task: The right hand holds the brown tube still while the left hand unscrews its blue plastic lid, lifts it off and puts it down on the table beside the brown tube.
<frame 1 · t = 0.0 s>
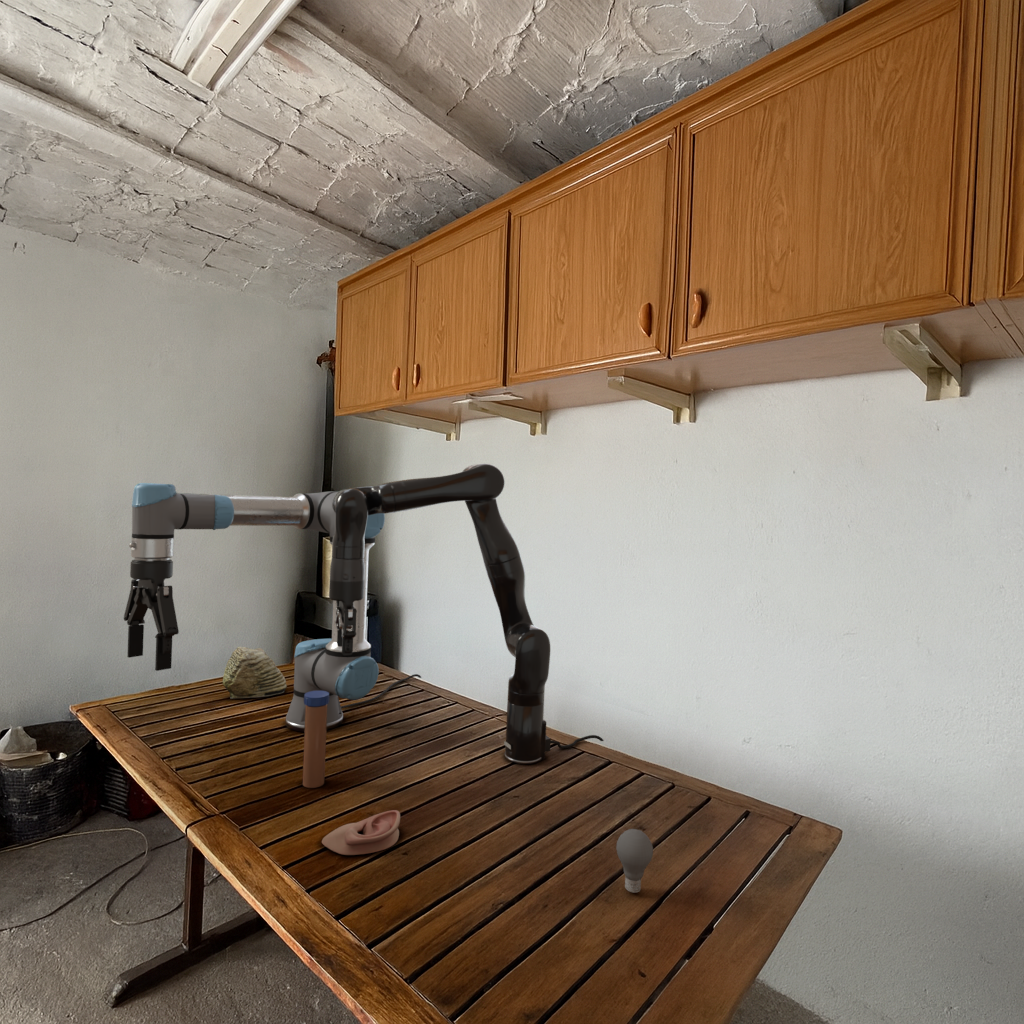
left hand: (148, 662, 129), 28 cm above the table, tool pointing down, fingers open, 13 cm apart
right hand: (344, 650, 141), 29 cm above the table, tool pointing down, fingers open, 8 cm apart
anatomical model: (361, 840, 118), on the table
light bulb: (632, 891, 106), on the table
lid: (316, 695, 139), point 19 cm above the table, screwed on, not yet turned
brown tube: (313, 783, 140), on the table
fossil: (254, 694, 198), on the table
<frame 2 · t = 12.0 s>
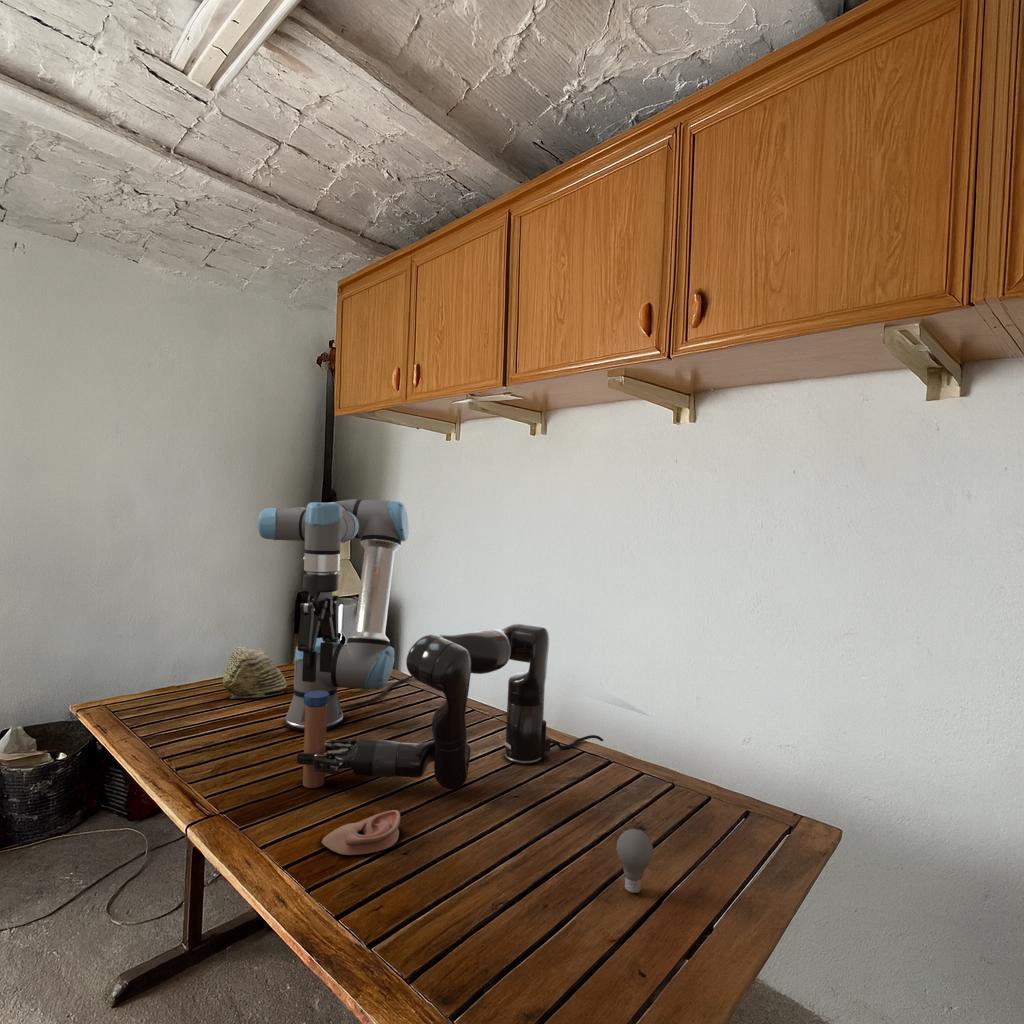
left hand: (317, 676, 139), 24 cm above the table, tool pointing down, fingers open, 7 cm apart
right hand: (302, 753, 140), 6 cm above the table, tool horizontal, fingers closed on brown tube, 4 cm apart
brown tube: (313, 783, 140), on the table, touching right hand
everything else where it was.
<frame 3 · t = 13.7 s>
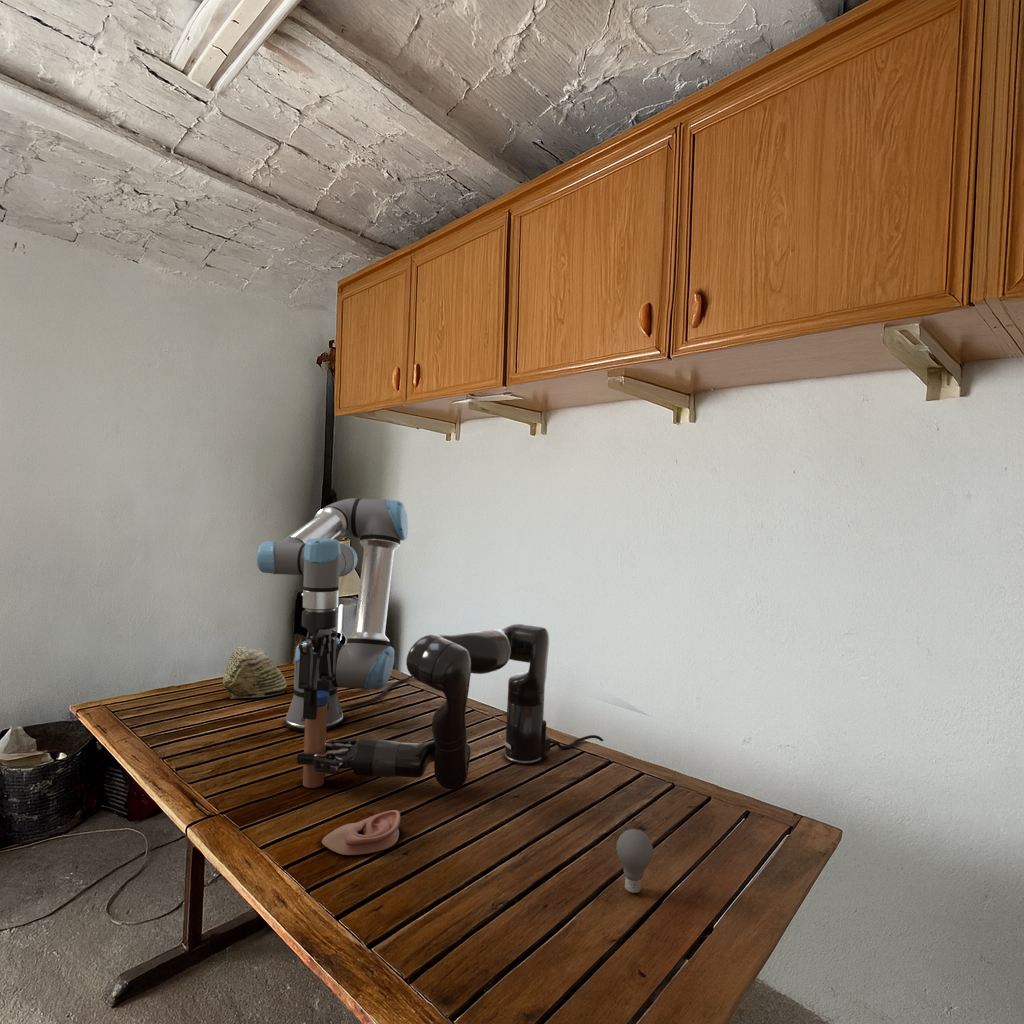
left hand: (316, 713, 140), 15 cm above the table, tool pointing down, fingers closed on lid, 5 cm apart
right hand: (302, 753, 140), 6 cm above the table, tool horizontal, fingers closed on brown tube, 4 cm apart
lid: (316, 695, 139), point 19 cm above the table, screwed on, not yet turned, touching left hand
brown tube: (313, 783, 140), on the table, touching right hand
everything else where it was.
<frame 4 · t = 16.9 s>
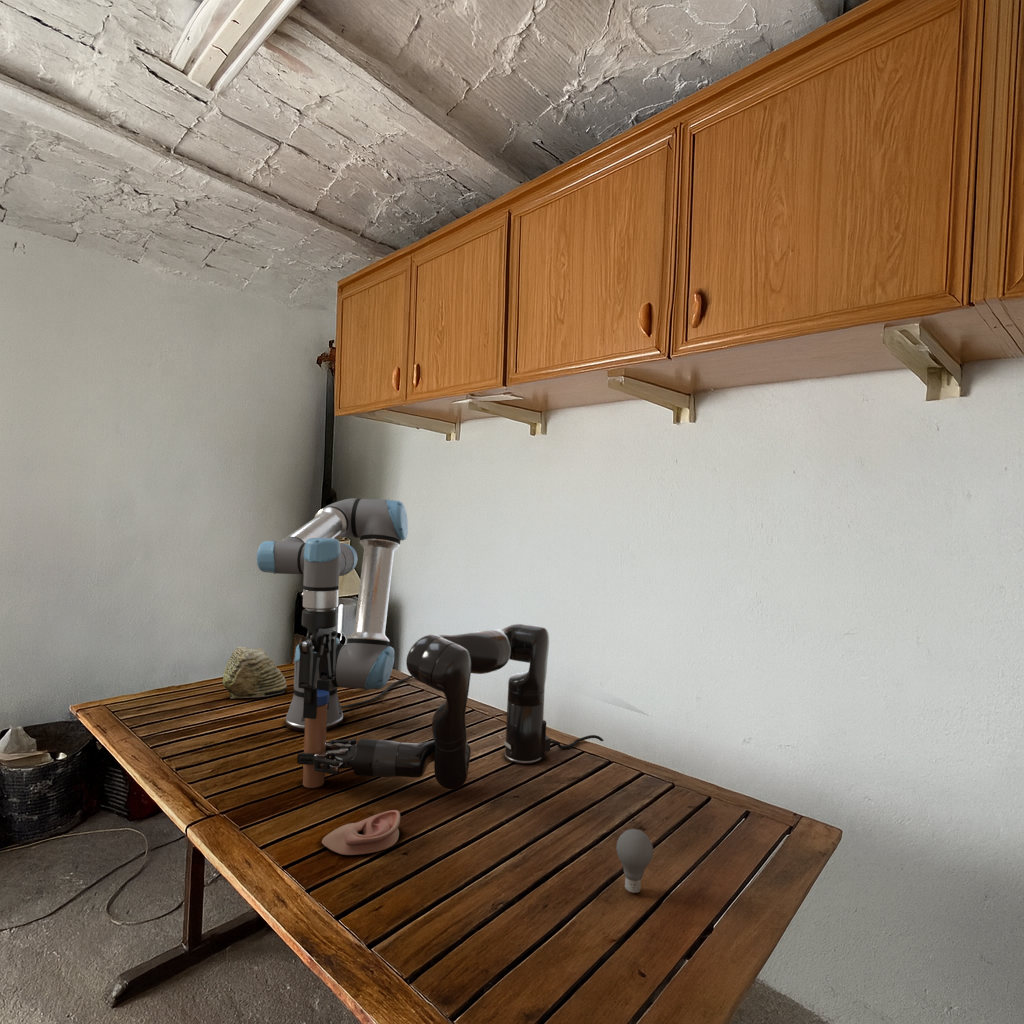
left hand: (316, 713, 140), 16 cm above the table, tool pointing down, fingers closed on lid, 5 cm apart
right hand: (302, 753, 140), 6 cm above the table, tool horizontal, fingers closed on brown tube, 4 cm apart
lid: (316, 694, 139), point 20 cm above the table, turned 91° so far, risen 0.1 cm, still on its thread, touching left hand
brown tube: (313, 783, 140), on the table, touching right hand
everything else where it was.
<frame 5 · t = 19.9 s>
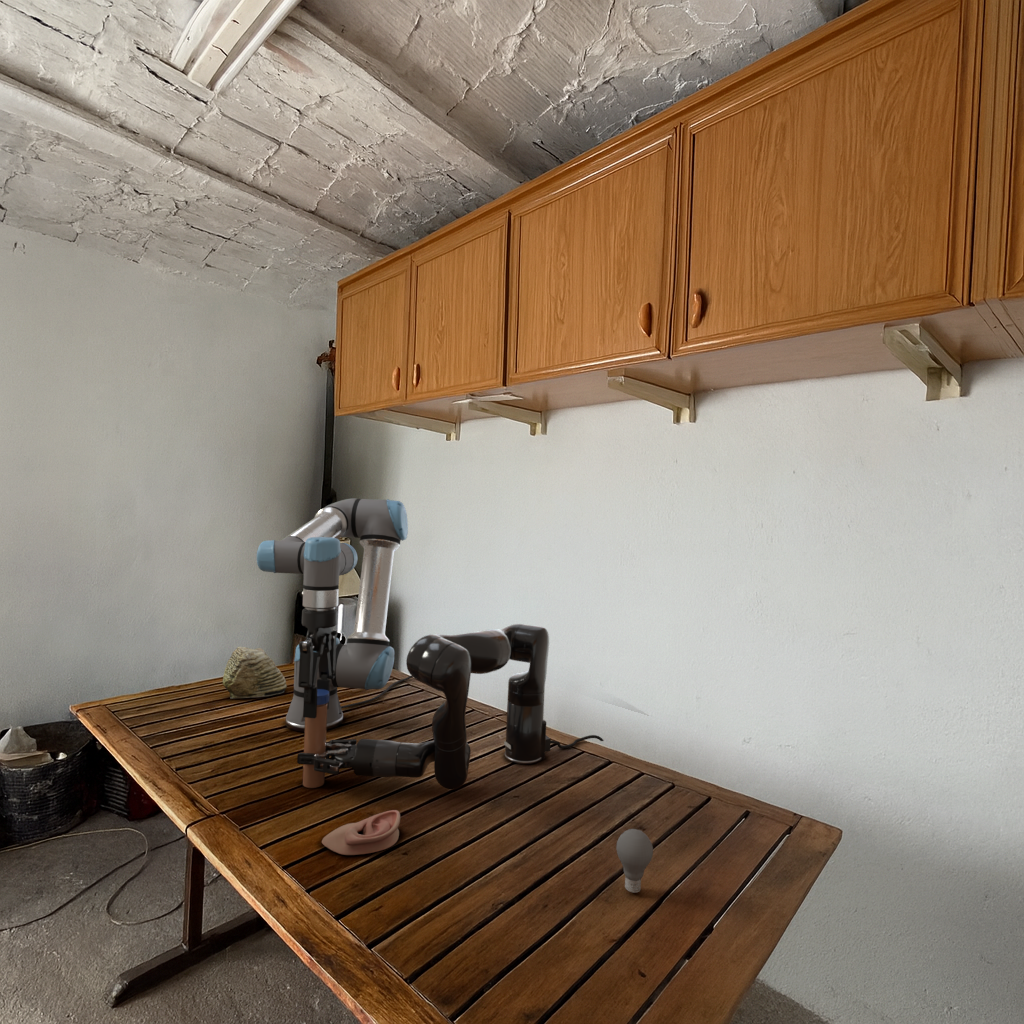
left hand: (316, 712, 140), 16 cm above the table, tool pointing down, fingers closed on lid, 5 cm apart
right hand: (302, 753, 140), 6 cm above the table, tool horizontal, fingers closed on brown tube, 4 cm apart
lid: (316, 694, 139), point 20 cm above the table, turned 181° so far, risen 0.3 cm, still on its thread, touching left hand
brown tube: (313, 783, 140), on the table, touching right hand
everything else where it was.
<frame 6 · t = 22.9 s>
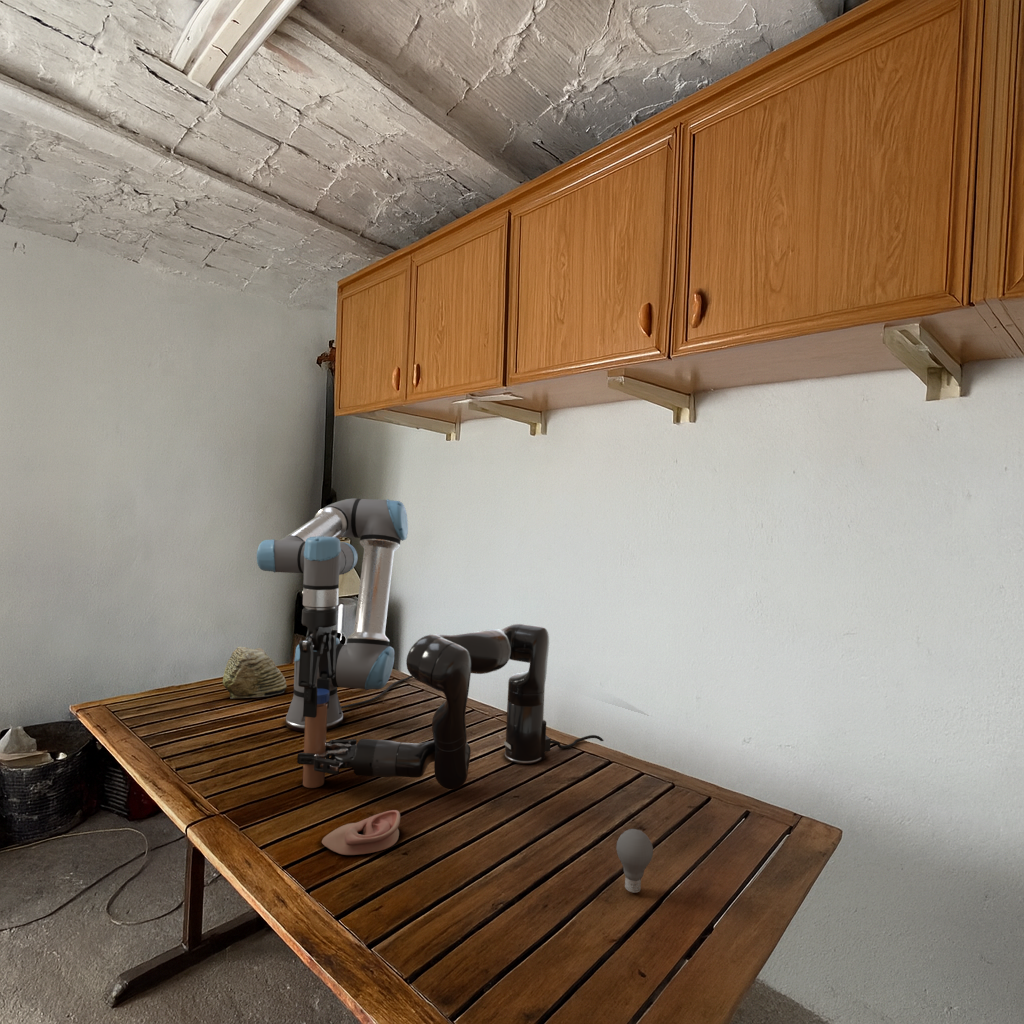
left hand: (316, 711, 140), 16 cm above the table, tool pointing down, fingers closed on lid, 5 cm apart
right hand: (302, 753, 140), 6 cm above the table, tool horizontal, fingers closed on brown tube, 4 cm apart
lid: (316, 693, 139), point 20 cm above the table, turned 272° so far, risen 0.5 cm, still on its thread, touching left hand
brown tube: (313, 783, 140), on the table, touching right hand
everything else where it was.
when the left hand's fingers open (0 cm above the table, at t = 30.2 s): lid drops 3 cm, point 2 cm above the table.
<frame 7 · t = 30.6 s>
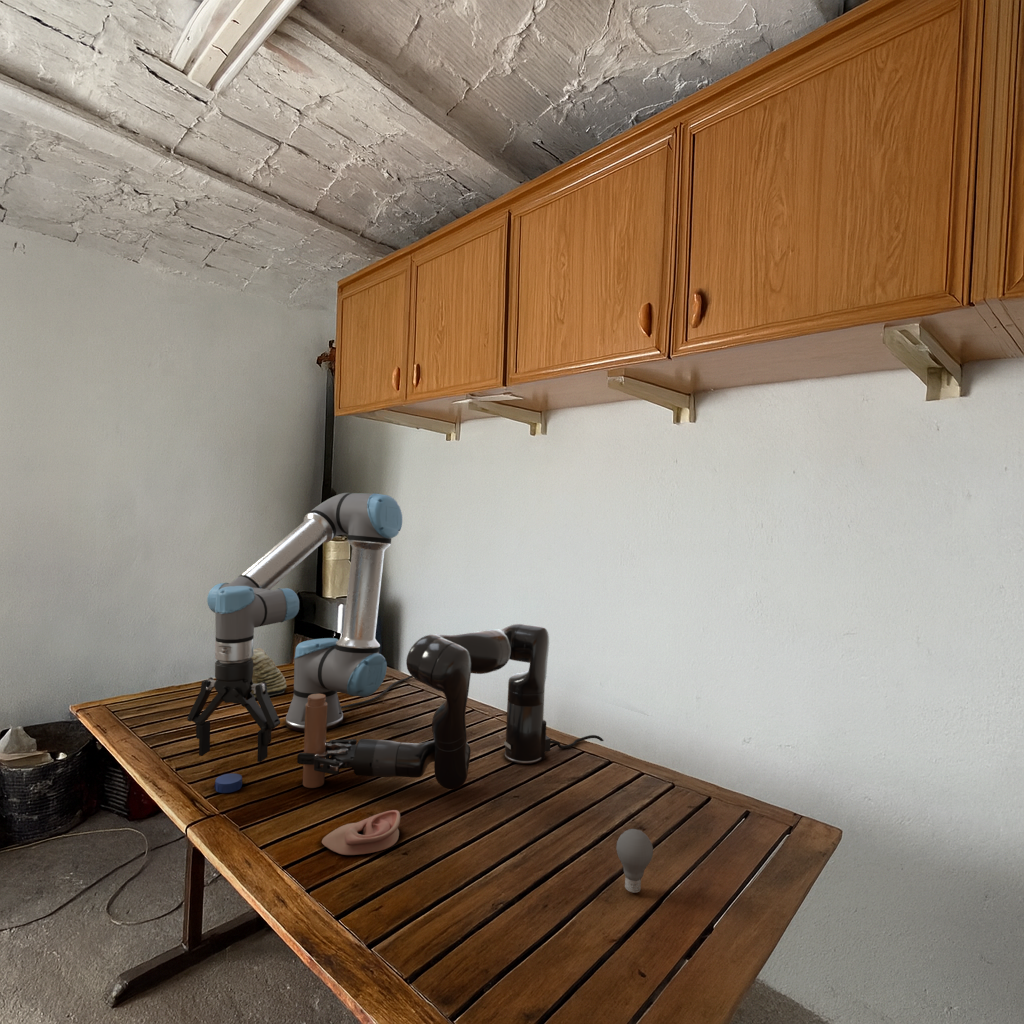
left hand: (233, 756, 137), 6 cm above the table, tool pointing down, fingers open, 13 cm apart
right hand: (302, 753, 140), 7 cm above the table, tool horizontal, fingers closed on brown tube, 4 cm apart
lid: (228, 780, 136), point 2 cm above the table, off its thread
brown tube: (313, 783, 140), on the table, touching right hand
everything else where it was.
when the right hand's fingers open (7 cm above the table, at t = 30.8 s): brown tube stays where it is, on the table.
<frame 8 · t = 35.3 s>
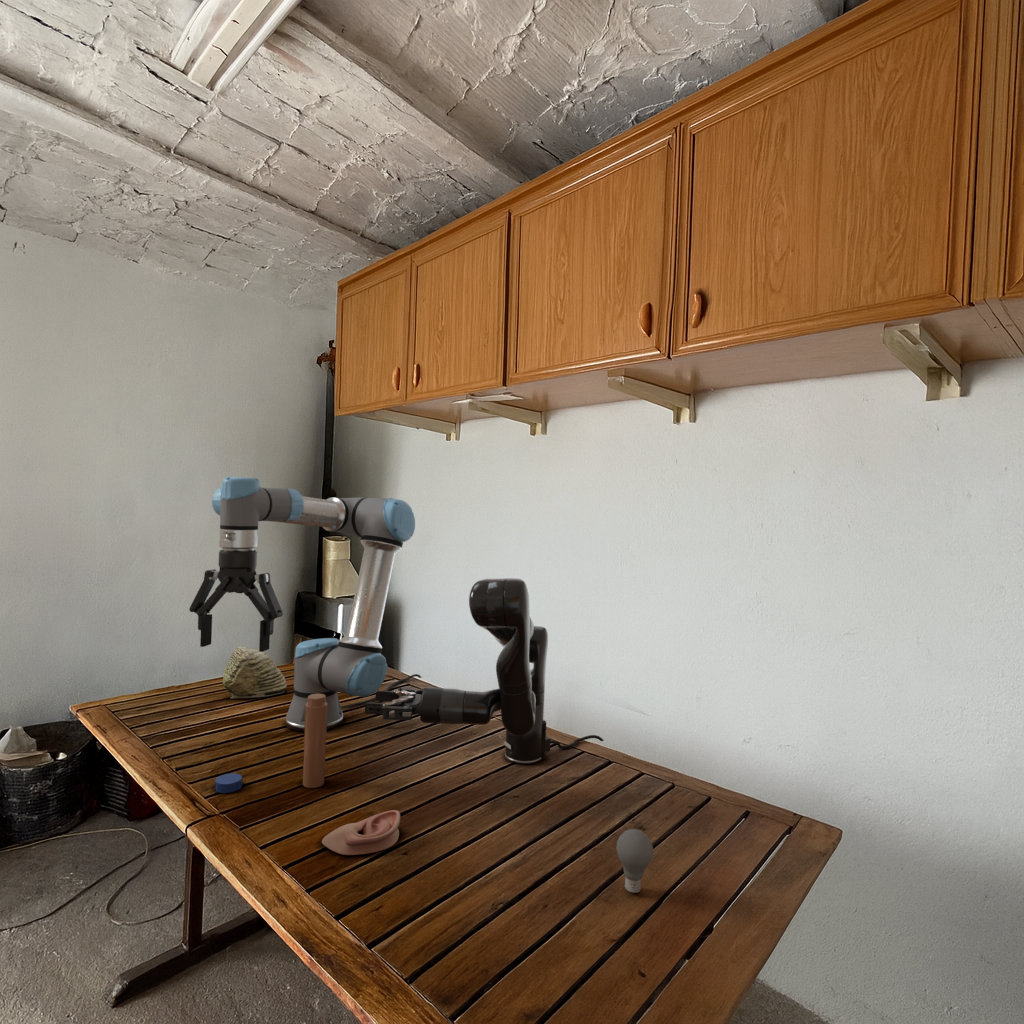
left hand: (234, 648, 136), 30 cm above the table, tool pointing down, fingers open, 13 cm apart
right hand: (370, 701, 139), 19 cm above the table, tool horizontal, fingers open, 8 cm apart
brown tube: (313, 783, 140), on the table
everything else where it was.
at the end: lid came off its thread; lid point 1.6 cm above the table; the left hand is holding nothing; the right hand is holding nothing; brown tube tilted 0°; brown tube moved 0.0 cm from its start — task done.
